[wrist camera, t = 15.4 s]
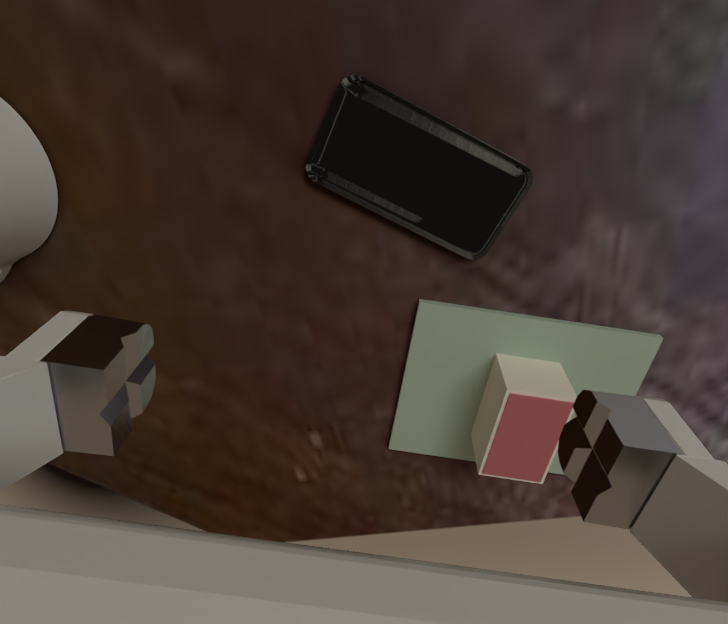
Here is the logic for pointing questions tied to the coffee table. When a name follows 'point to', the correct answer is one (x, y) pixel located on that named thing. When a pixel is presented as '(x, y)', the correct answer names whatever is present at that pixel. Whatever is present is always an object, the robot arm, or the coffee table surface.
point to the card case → (521, 418)
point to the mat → (474, 362)
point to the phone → (416, 168)
